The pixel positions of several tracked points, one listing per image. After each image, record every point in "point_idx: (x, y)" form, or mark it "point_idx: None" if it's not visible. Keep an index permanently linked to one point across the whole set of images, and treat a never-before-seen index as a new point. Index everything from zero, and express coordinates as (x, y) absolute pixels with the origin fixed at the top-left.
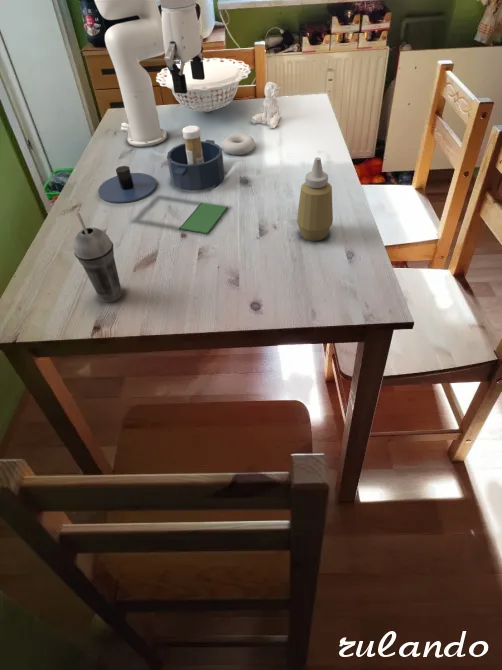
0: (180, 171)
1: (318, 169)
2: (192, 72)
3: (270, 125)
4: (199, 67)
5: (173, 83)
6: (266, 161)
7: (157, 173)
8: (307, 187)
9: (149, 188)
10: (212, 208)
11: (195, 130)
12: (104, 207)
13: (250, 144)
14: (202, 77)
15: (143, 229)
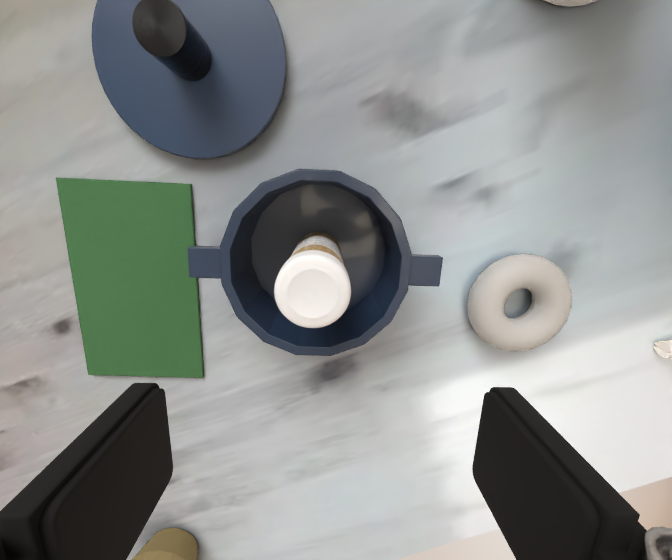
0: (198, 268)
1: None
2: (511, 432)
3: (662, 343)
4: (528, 550)
5: (84, 436)
6: (446, 388)
7: (322, 108)
8: None
9: (203, 143)
10: (184, 348)
11: (299, 320)
12: (80, 36)
13: (501, 348)
14: (478, 483)
15: (39, 220)
